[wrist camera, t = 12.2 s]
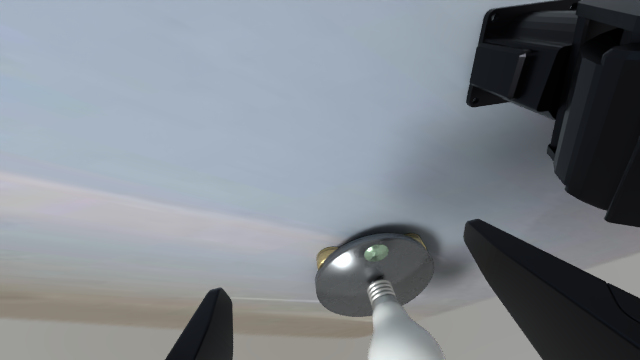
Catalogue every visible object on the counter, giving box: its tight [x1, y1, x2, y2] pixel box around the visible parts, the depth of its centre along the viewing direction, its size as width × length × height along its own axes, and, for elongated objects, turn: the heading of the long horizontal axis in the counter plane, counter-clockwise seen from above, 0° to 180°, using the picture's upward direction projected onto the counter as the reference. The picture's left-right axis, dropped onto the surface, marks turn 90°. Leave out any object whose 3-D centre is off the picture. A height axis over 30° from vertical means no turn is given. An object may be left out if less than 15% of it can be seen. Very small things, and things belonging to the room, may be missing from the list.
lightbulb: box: [367, 280, 446, 360], centre depth 24 cm, size 6×6×11 cm
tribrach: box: [315, 233, 434, 317], centre depth 29 cm, size 13×13×3 cm
